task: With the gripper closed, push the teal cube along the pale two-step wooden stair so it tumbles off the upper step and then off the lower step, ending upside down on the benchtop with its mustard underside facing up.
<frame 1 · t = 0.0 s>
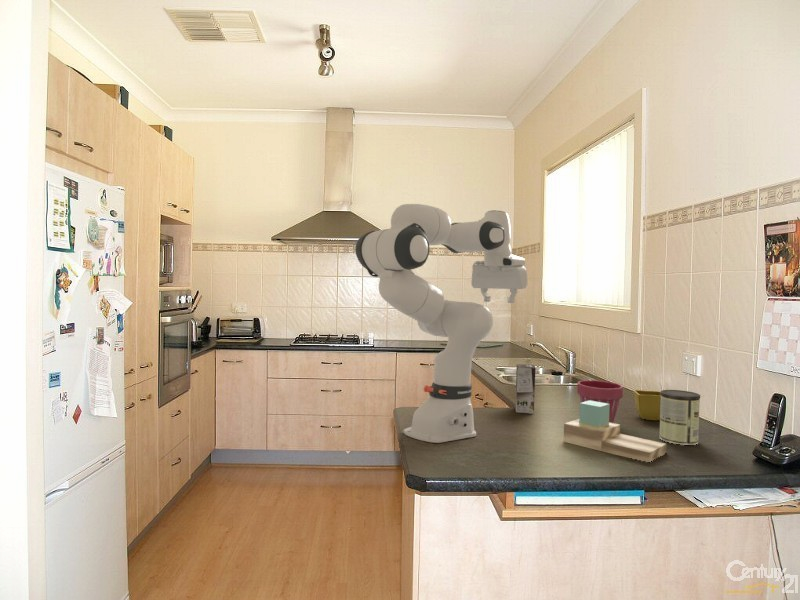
hand: (498, 302, 172), 39 cm above the countertop, tool pointing down, fingers open, 8 cm apart
coffee box: (524, 411, 185), on the countertop
flower pot: (648, 419, 178), on the countertop
teal cube: (593, 424, 147), point 5 cm above the countertop, touching stair
stair: (612, 447, 144), on the countertop
plant pot: (598, 422, 171), on the countertop
coffee can: (678, 441, 152), on the countertop
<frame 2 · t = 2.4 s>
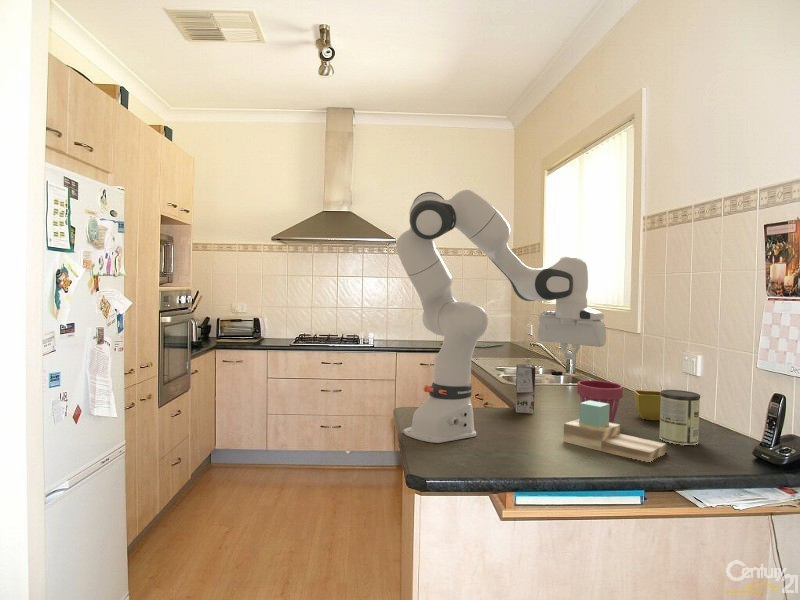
hand: (569, 359, 153), 23 cm above the countertop, tool pointing down, fingers closed
nothing on the countertop moved.
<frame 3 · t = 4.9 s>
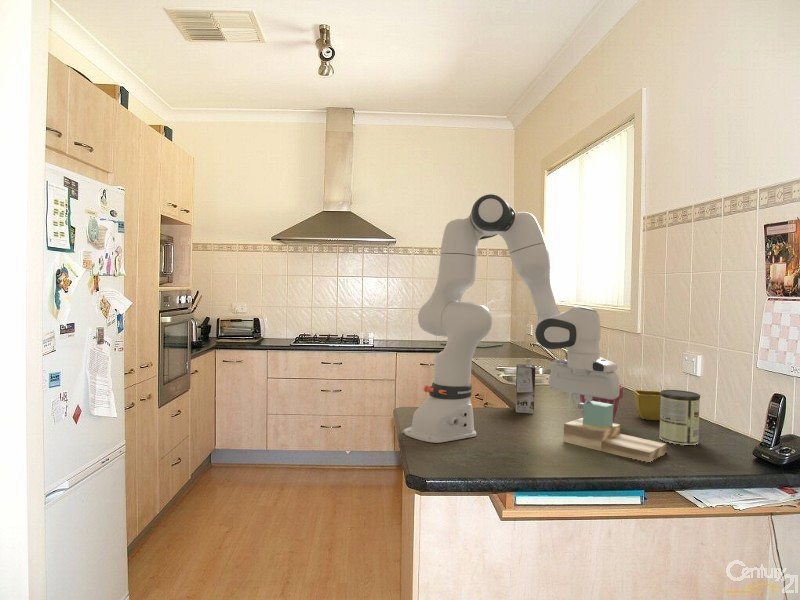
hand: (581, 409, 150), 9 cm above the countertop, tool pointing down, fingers closed
teal cube: (597, 425, 147), point 5 cm above the countertop, touching gripper
everything else where it was.
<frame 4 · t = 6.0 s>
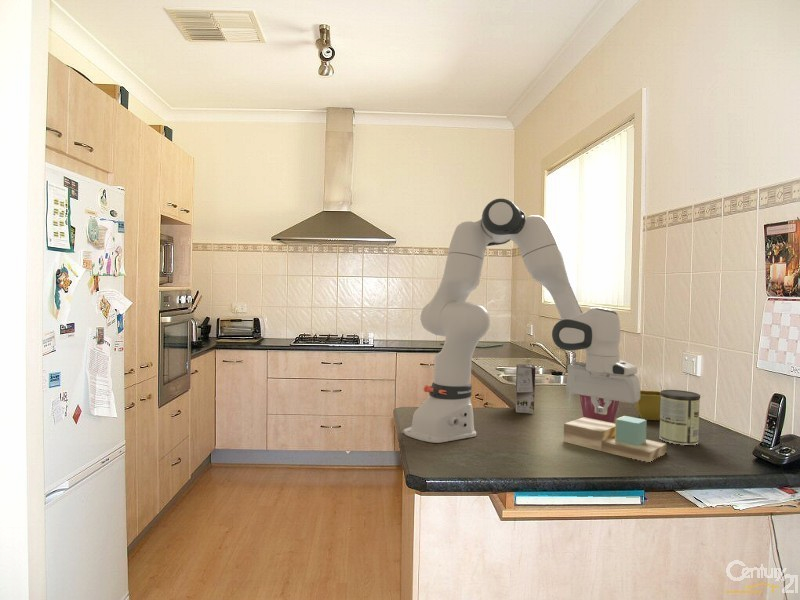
hand: (600, 413, 146), 9 cm above the countertop, tool pointing down, fingers closed
teal cube: (619, 428, 143), point 6 cm above the countertop, tilted 90°, touching stair
everything else where it was.
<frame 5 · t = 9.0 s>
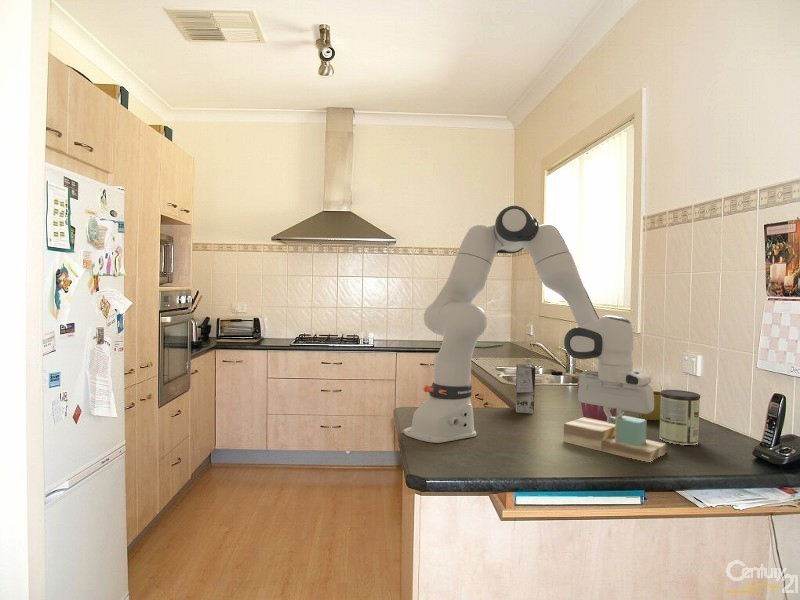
hand: (613, 423, 144), 6 cm above the countertop, tool pointing down, fingers closed
teal cube: (619, 428, 143), point 6 cm above the countertop, tilted 90°, touching gripper, stair
everything else where it was.
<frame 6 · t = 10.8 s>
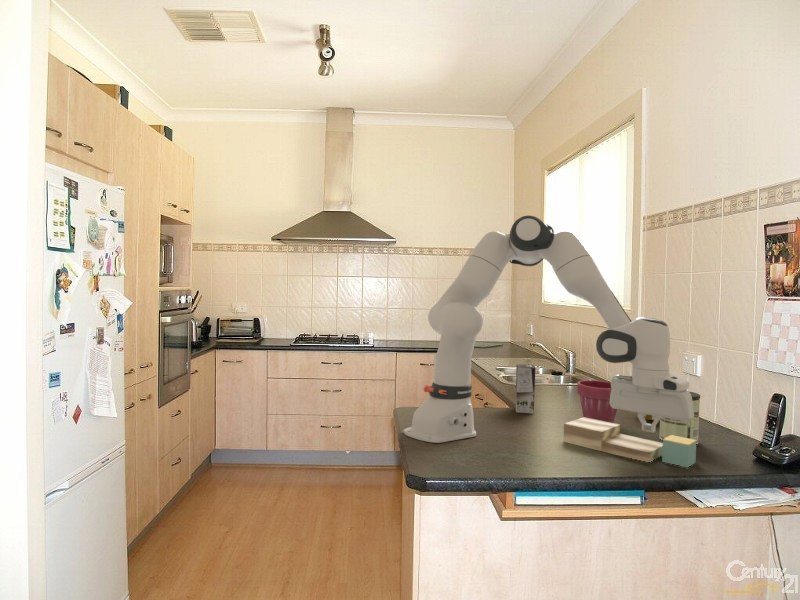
hand: (648, 431, 137), 6 cm above the countertop, tool pointing down, fingers closed
teal cube: (679, 439, 132), point 6 cm above the countertop, tilted 180°
everything else where it was.
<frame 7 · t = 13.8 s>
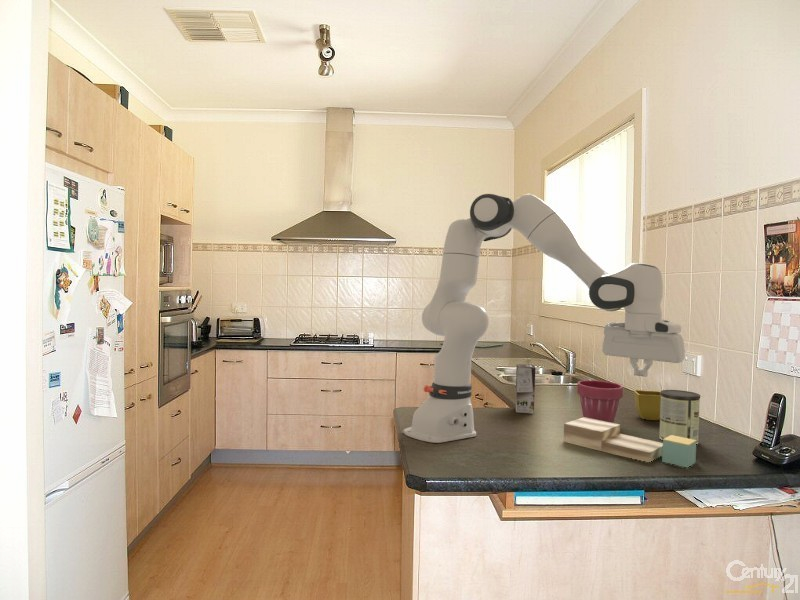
hand: (640, 375, 138), 21 cm above the countertop, tool pointing down, fingers closed
nothing on the countertop moved.
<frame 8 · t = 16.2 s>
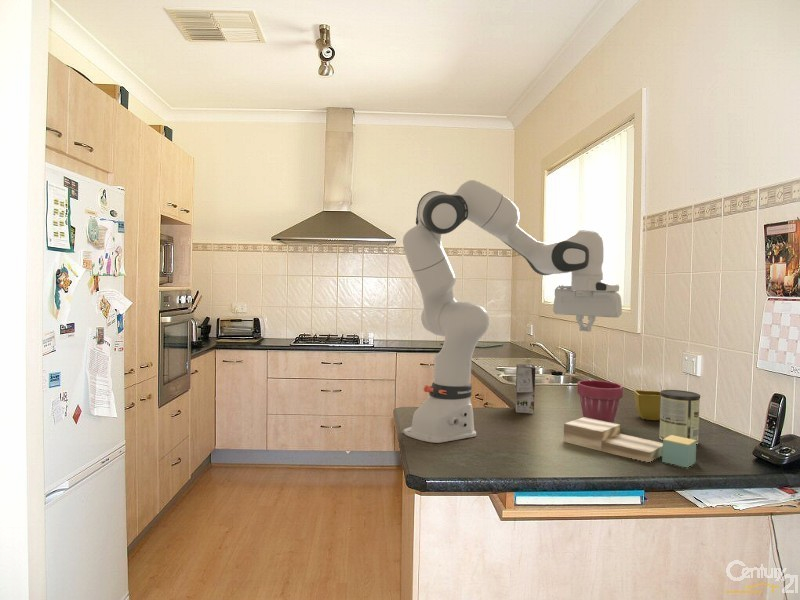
hand: (585, 331, 156), 31 cm above the countertop, tool pointing down, fingers closed
nothing on the countertop moved.
at the end: teal cube tilted 180°; teal cube inside the target area (1.9 cm from its centre), point 5.9 cm above the countertop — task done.
